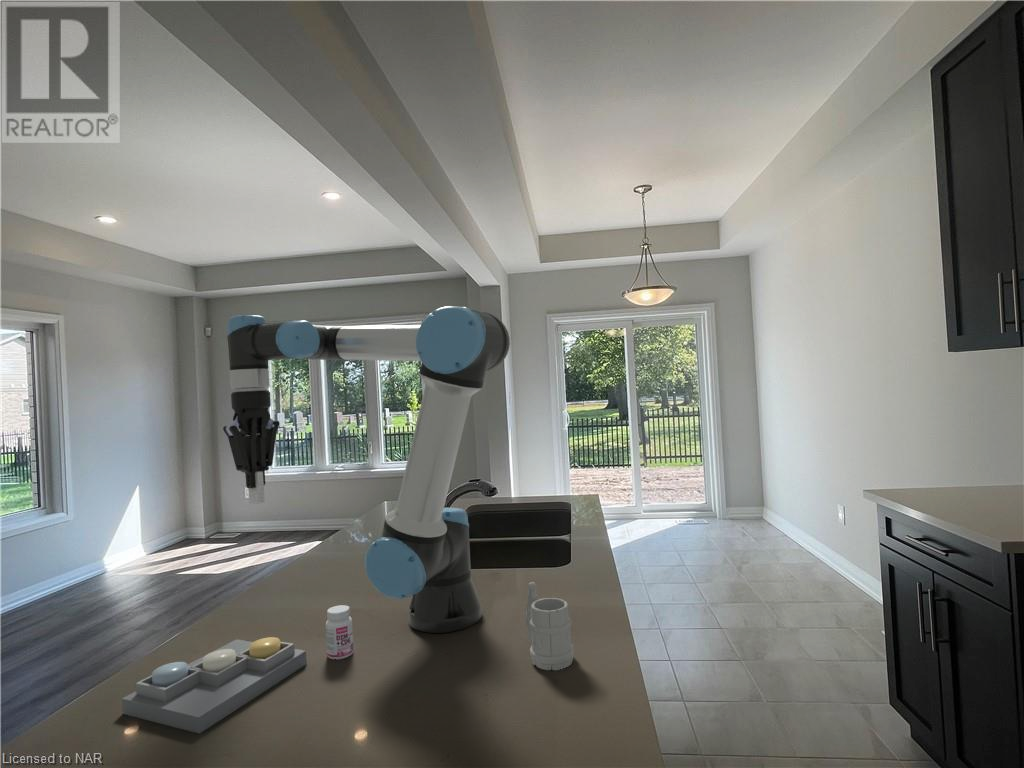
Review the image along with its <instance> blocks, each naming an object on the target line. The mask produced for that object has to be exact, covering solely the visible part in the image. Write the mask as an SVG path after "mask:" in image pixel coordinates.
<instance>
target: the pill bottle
mask: <svg viewBox="0 0 1024 768" xmlns="http://www.w3.org/2000/svg"><path fill="white" fill-rule="evenodd" d="M350 609H351V608H350V606H349V605H346V604H345V605H344V604H342V605H341V604H340V605H335V606H332V607H329V608H328V609H327V611H326V614H327V615H326V618H327V620H326V622H325V637H326V638H325V640H326V641H325V642H326V656H327V658H328V659H331V660H335V659H336V660H337V661H338V660H343V659H346V658H348V657H350V656H352V655H353V653H354V634H353V633H354V631H353V619H352V617H351V616H350V615H351V611H350ZM336 660H335V661H336Z"/></svg>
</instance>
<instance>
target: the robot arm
mask: <svg viewBox="0 0 1024 768" xmlns="http://www.w3.org/2000/svg"><path fill="white" fill-rule="evenodd" d="M227 320H228V321H227V334H226V339H227V347H228V361H229V362H228V363H229V380H230V389H231V390H233V392H231V394H230V399H231V400H230V402H231V409H232V410H233V412H234V413H233V417H232V422H231V423H229V424H228V425H225V426H223V429H222V430H223V431H224V433H225V435H226V436H227V438H228V444H229V445H230V450H231V455H232V458H233V461H234V465H235V469H236V471H237V472H242V473H244V474H245V486H246V488H247V489H248V503H249V504H252V505H253V504H255V505H258V504H264V503H265V488H264V487H265V486H266V472H265V471H269V469H270V467H272V466H273V463H274V455H275V448H276V438H277V432H278V429H279V427H280V421H279V420H274V419H273V418H271V414H270V412H269V408H270V407H271V405H272V402H271V400H272V399H271V391H270V390H268V388H270V387H271V384H270V382H271V381H270V370H269V369H270V368H269V367H270V366H269V365H270V364H269V362H270V361H277V360H319V361H320V360H323V361H336V362H337V361H387V362H388V361H392V362H393V361H398V362H399V361H400V362H401V361H403V362H408V361H409V362H421V365H420V368H419V369H420V370H419V373H418V374H419V376H420V378H421V380H422V381H423V384H424V390H423V394H422V398H421V401H420V402H421V403H420V406H419V411H418V414H417V419H416V424H415V427H414V431H413V435H412V440H411V444H410V448H409V452H408V458H407V461H406V465H405V469H404V474H403V478H402V481H401V487H400V491H399V495H398V499H397V504H396V507H395V508H394V509H393V510H391V511H389V512H387V514H386V515H385V518H384V522H383V527H382V530H381V534H380V537H379V538H376V540H374V541H373V542H372V543H371V544H370V545H369V547H368V549H367V550H366V553H365V556H364V567H365V572H366V575H367V578H368V579H370V582H371V584H372V586H373V588H375V589H376V590H377V591H378V592H379V593H380V594H382V595H384V596H385V597H387V598H389V599H393V600H404V599H407V598H409V597H411V596H412V597H411V601H410V604H409V608H408V623H409V625H410V627H411V628H412V629H414V630H416V631H419V632H424V633H430V634H431V633H433V634H435V633H436V634H437V633H438V634H439V633H443V634H444V633H450V632H451V633H452V632H457V631H460V630H464V629H467V628H469V627H471V626H473V625H475V624H476V623H478V622H479V621H480V619H481V618H482V605H481V600H480V599H479V595H478V593H477V591H476V587H475V584H474V583H473V580H472V579H473V578H472V570H471V569H472V568H471V553H470V552H471V547H470V530H469V529H470V523H469V517H468V513H467V511H465V509H462V508H458V507H445V505H446V500H447V496H448V492H449V489H450V485H451V480H452V476H453V473H454V469H455V464H456V461H457V457H458V452H459V447H460V444H461V439H462V436H463V431H464V427H465V423H466V420H467V416H468V411H469V407H470V403H471V399H472V396H474V394H476V393H478V392H480V391H481V390H482V388H483V386H484V382H485V378H486V374H487V373H486V372H488V371H492V370H493V369H496V368H497V367H498V366H500V365H501V364H502V363H503V362H504V361H505V359H506V357H507V355H508V353H509V351H510V345H511V344H510V335H509V331H508V329H507V327H506V325H505V324H504V322H502V320H501V319H500V318H499V317H497V316H495V315H494V314H492V313H489V312H485V311H479V310H477V309H473V308H472V309H471V308H470V307H466V306H459V305H455V306H452V305H448V306H443V307H439V308H437V309H434V310H433V311H432V312H431V313H429V314H428V315H427V316H426V317H425V318H424V319H423V320H422V322H421V324H412V325H411V324H409V325H408V324H407V325H406V324H405V325H404V324H402V325H400V324H399V325H389V324H388V325H319V324H318V325H316V324H312V323H311V322H310V321H309V320H304V319H303V320H294V319H293V320H288V321H282V322H274V323H267V319H266V318H265V317H264V316H261V315H253V314H252V315H250V314H249V315H248V314H246V315H245V314H244V315H233V316H231V317H230V318H228V319H227Z"/></svg>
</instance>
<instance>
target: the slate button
mask: <svg viewBox="0 0 1024 768" xmlns="http://www.w3.org/2000/svg"><path fill="white" fill-rule="evenodd" d="M151 675H152V685H156V686H160V687H165V688H166V687H168V686H170V685H172V684H174V683H176V682H178V681H179V680H181V679H183V678H185V677H187V676H188V663H187V662H185V661H174V662H170V663H165V664H163V665H161V666H159V667H157V668H156V669H154V670H153V671H152V672H151Z"/></svg>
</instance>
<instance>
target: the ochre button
mask: <svg viewBox="0 0 1024 768" xmlns="http://www.w3.org/2000/svg"><path fill="white" fill-rule="evenodd" d="M252 642H253V643H251V644H250V646H249V653H250V656H251V657H253V658H259V659H266V658H268V657H270V656H272V655H273V654H275V653H277V652H278V651H280V650H281V649H280V642H281V640H280V638H278V637H275V636H272V637H271V636H270V637H269V636H268V637H263V638H260V639H257V640H254V641H252Z"/></svg>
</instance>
